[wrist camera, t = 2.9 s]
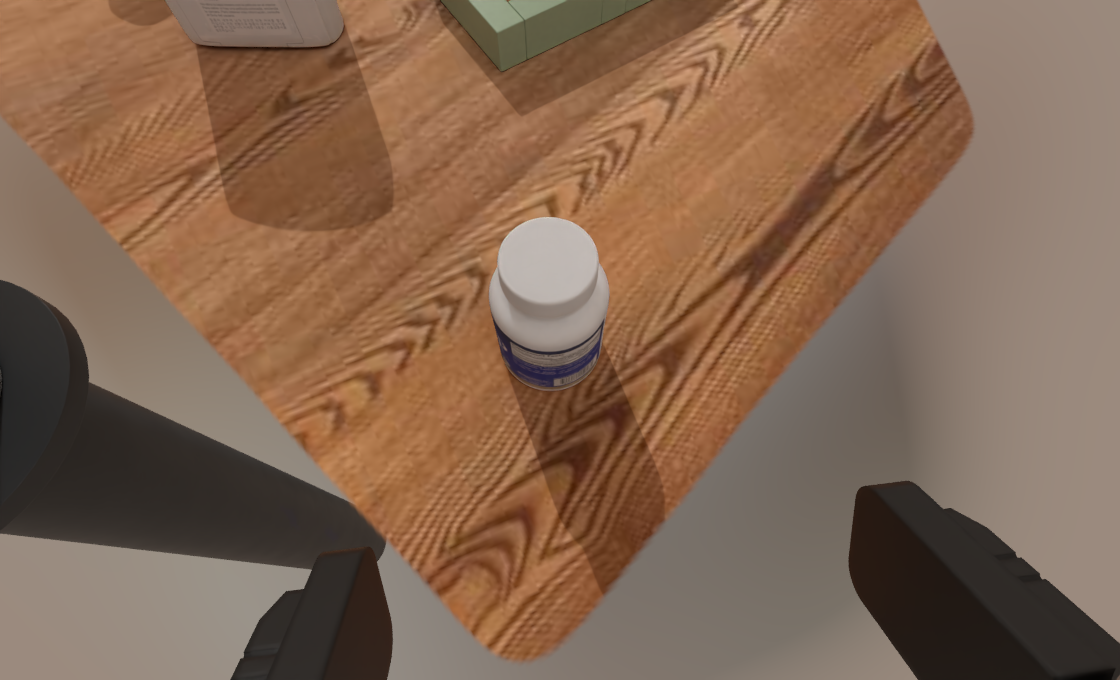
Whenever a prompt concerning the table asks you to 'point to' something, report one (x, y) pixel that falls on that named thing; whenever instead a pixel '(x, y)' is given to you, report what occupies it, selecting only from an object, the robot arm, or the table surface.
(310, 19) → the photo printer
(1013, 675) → the robot arm
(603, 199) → the table surface
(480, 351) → the table surface
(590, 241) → the pill bottle
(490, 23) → the socket base
